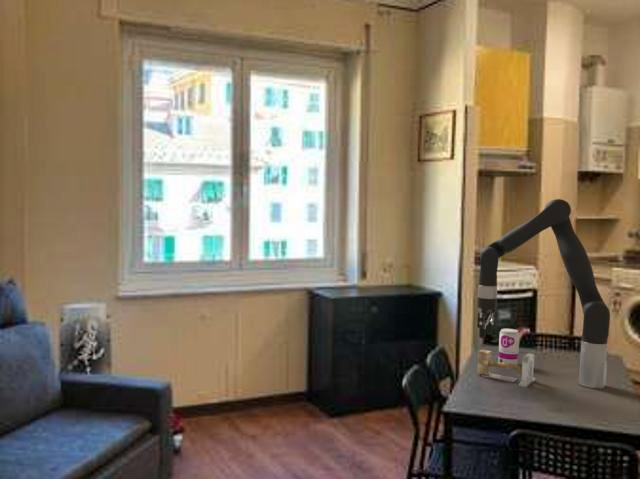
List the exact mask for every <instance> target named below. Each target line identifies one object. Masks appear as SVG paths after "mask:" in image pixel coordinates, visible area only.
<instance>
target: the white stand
mask: <svg viewBox="0 0 640 479" xmlns="http://www.w3.org/2000/svg"><path fill="white" fill-rule="evenodd" d="M521 366H522V377H521V380H520V382H519V383H518V386H519V387H522V388H529V386H530V385H532V384H533V383H534V382H535V381H536V377H534V369H535V367H534V366H535V353H532V352H528V353H527V354H525V355H524V356H522V364H521ZM481 377H484V378H489V379H494V380H500V381H505V382H511V383H515V382H516V381H518V378H517V377H513V376H507V375H501V374H496V373H491V372H490V373H489V374H488V375H485V374H481Z"/></svg>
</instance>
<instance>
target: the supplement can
mask: <svg viewBox="0 0 640 479" xmlns="http://www.w3.org/2000/svg"><path fill="white" fill-rule="evenodd" d="M519 350H520V333H519V330H518V329H514V328H501V329H500V331H499V339H498V359H497V362H501V363H507V364H513V365H518V364H519V353H520V352H519Z"/></svg>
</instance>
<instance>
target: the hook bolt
mask: <svg viewBox="0 0 640 479" xmlns="http://www.w3.org/2000/svg"><path fill="white" fill-rule="evenodd" d="M491 367H496V368H502V369H506V370H507V369H508V370H513V371H517V372H518V377H520V378H522V365H518V364H517V365H513V364H507V363H501V362H498V361H494V360H492V350H486V349H480V350H478V352H477V367H476V368H477V369H476V370H477V371H476V372H477V373H476V374H481V375H482V374H485V375H488V374H489V373H491Z"/></svg>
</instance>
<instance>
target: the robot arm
mask: <svg viewBox="0 0 640 479" xmlns="http://www.w3.org/2000/svg"><path fill="white" fill-rule="evenodd" d="M571 213H572V208H571V205H570V203H569V202H568V201H566V200H564V199H561V198H557V199H556V198H555V199H552V200H550V201H548V202H547V203H546V205H545V206H544V209H542V210H541V211H540V212H539V213H538V214H537V215H535V216H534V217H532V218H531V219H529V220H528V221H525V222H524V223H522V224H520V225H518V226H516V227H514V228H512V229H511V230H510V231H508V232H507V233H505V234H504V235H503V236H501V237H500V238H499V239H497V240H495V241H493V242H491V243H489V244H488V245H486V246H485V247H482V249H481V250H480V252H479V259H480V265H479V266H480V269H479V270H480V272H479V276H478V288H477V304H476V305H477V306H476V307H477V308H478V309H480V310H481V311H480V312H478V313H477V324H476V327H477V328H478V329H479V332H478V333H479V334H478V336H479V339H485V338H486V335H488V336H491V335H493V328H494V327H493V326H494V324H495V323H496V309H497V304H498V303H497V302H498V288H497V287H498V268H499V267H498V266H499V259H500V258H502V257H503V256H505V255H506V254H509V253H512V252H513V251H515V250H516V249H519V247H521V246H523V245H524V244H525V243H527V242H529V241H530V240H531V239H532V238H534V237H535V236H536V235H539V234H540V233H541V232H543V231H545V230H547V229H549V228H551V230H552V232H553V234H554V236H555V239H556V243H557V246H558V251H559V252H560V256H561V260H562V262H563V265H564V267H565V270H566V272H567V274H568V277H569V278H570V281H571V283H572V284H573V286H574V287H575V289H576V292H577V294H578V298H579V301H580V305H581V308H582V314H583V319H582V320H583V323H582V333H581V343H580V344H581V345H580V358H579V359H580V361H579V362H580V363H579V376H578V384H579V385H581V386H583V387H586V388H591V389H600V390H602V389H604V388H605V386H606V383H607V368H608V361H607V351H608V338H609V336H610V335H609V333H610V323H611V322H610V321H611V320H610V318H611V316H610V315H611V312H610V308H608V306H607V304H606V302H605V301H604V299H603V298H602V295H601V293H600V292H599V290H598V287H597V285H596V280H595V275H594V270H593V268H592V264H591V261H590V258H589V255H588V254H587V251H586V248H585V247H584V245H583V243H582V242H581V240H580V239H579V236H578V235H577V233H576V232H575V230H574V228H573V224H572V221H571V218H570V216H571Z"/></svg>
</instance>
